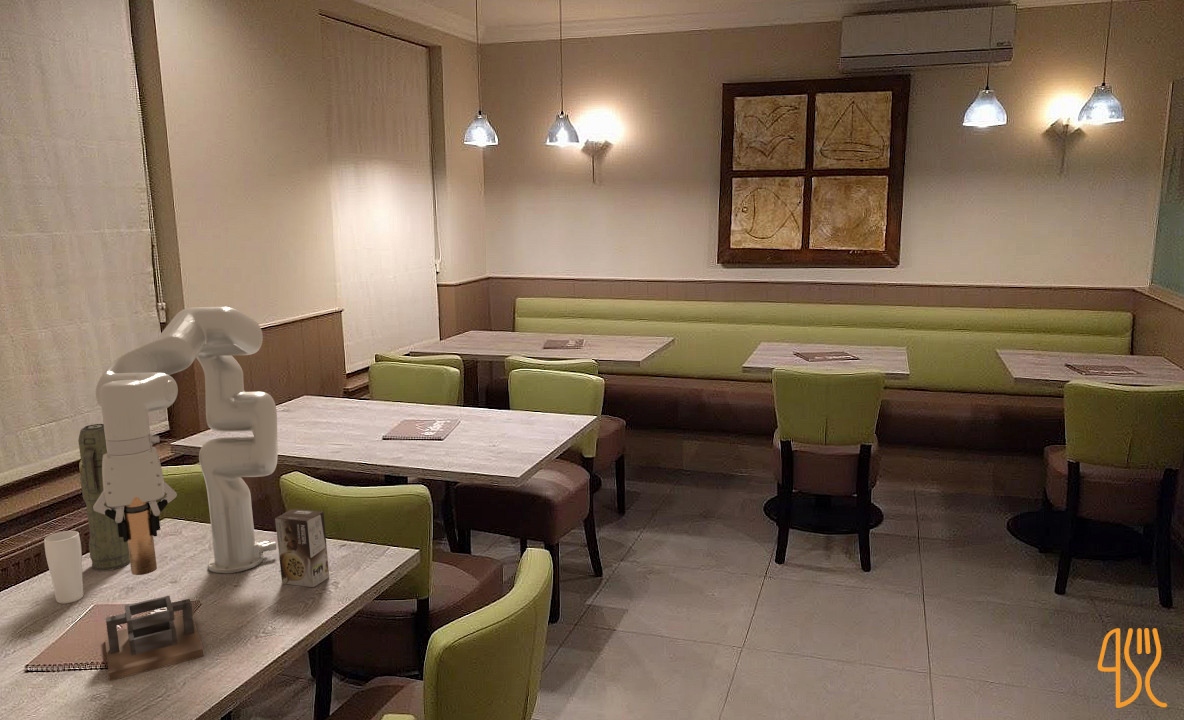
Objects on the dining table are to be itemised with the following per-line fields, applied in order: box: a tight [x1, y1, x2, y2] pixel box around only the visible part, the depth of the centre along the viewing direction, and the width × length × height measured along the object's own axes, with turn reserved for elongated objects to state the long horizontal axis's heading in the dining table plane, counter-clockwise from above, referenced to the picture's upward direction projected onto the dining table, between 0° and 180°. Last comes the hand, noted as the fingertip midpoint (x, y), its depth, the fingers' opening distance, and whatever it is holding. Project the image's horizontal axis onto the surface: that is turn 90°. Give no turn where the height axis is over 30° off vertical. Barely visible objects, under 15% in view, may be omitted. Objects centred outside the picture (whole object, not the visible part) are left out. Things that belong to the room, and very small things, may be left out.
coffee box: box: [274, 508, 330, 588], centre depth 198 cm, size 9×6×16 cm
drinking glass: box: [43, 530, 85, 605], centre depth 191 cm, size 7×7×15 cm
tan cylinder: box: [124, 497, 158, 576], centre depth 165 cm, size 5×5×16 cm
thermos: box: [78, 423, 130, 572], centre depth 209 cm, size 9×12×35 cm
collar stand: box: [104, 595, 205, 681], centre depth 168 cm, size 16×18×8 cm
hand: (140, 536), depth 165 cm, fingers closed on tan cylinder, 4 cm apart
